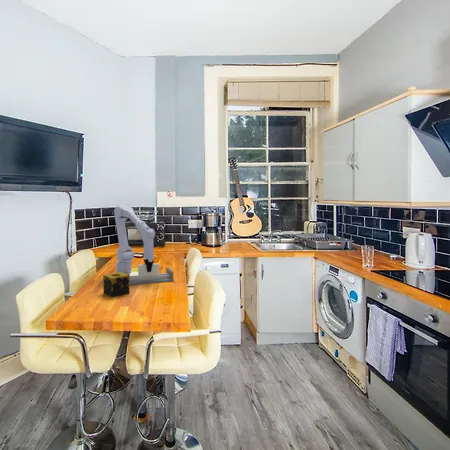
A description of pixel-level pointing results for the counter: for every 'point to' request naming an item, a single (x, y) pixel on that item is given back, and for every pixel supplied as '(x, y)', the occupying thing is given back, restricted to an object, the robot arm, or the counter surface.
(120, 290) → the black and yellow cube
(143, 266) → the door panel
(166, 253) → the counter surface
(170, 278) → the cabinet base
